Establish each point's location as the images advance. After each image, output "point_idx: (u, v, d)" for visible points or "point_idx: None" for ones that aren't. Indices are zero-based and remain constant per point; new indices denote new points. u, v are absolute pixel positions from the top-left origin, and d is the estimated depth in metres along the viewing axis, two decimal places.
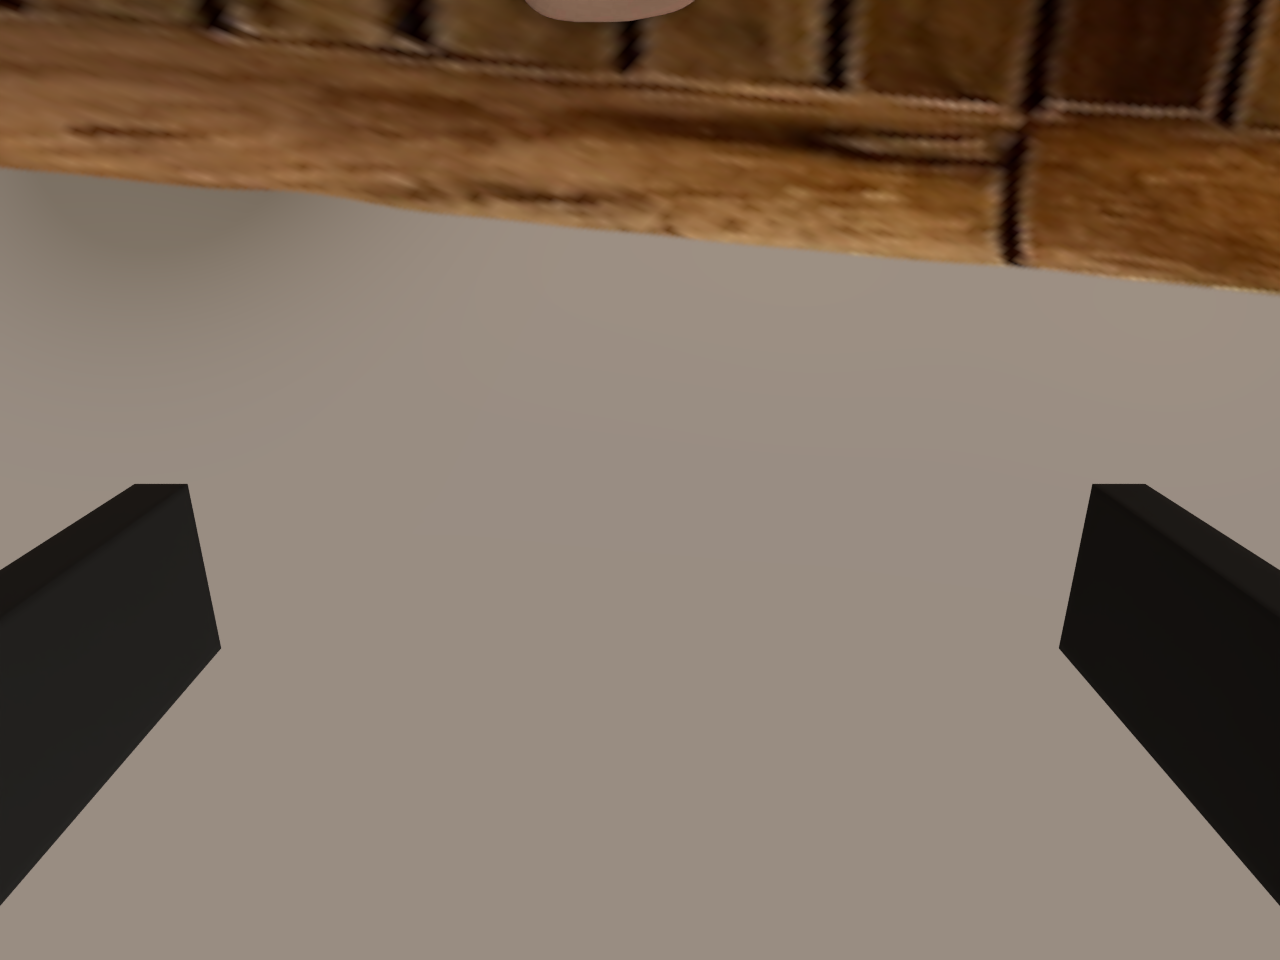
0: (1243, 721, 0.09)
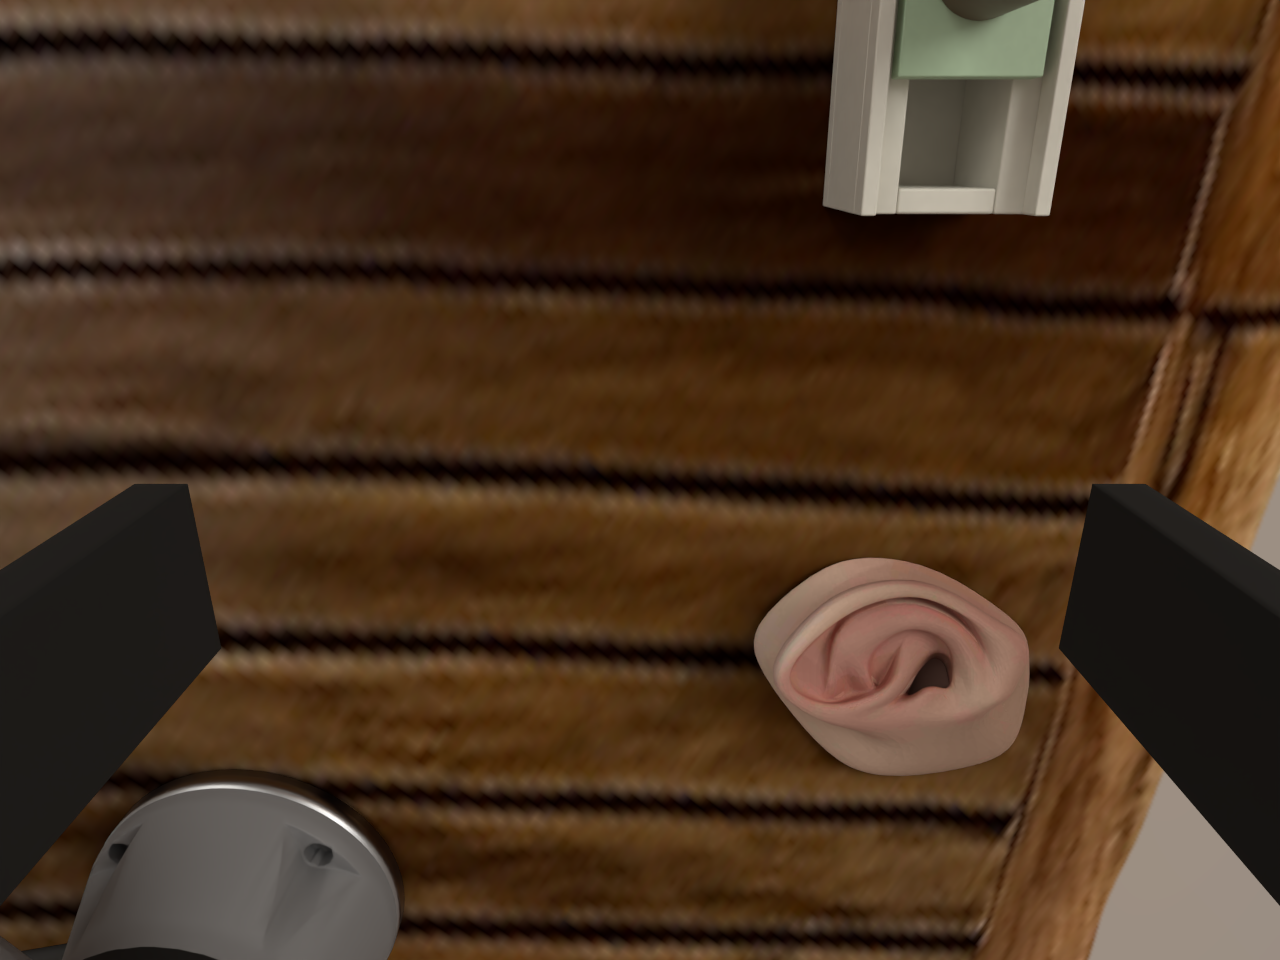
0: (1242, 721, 0.09)
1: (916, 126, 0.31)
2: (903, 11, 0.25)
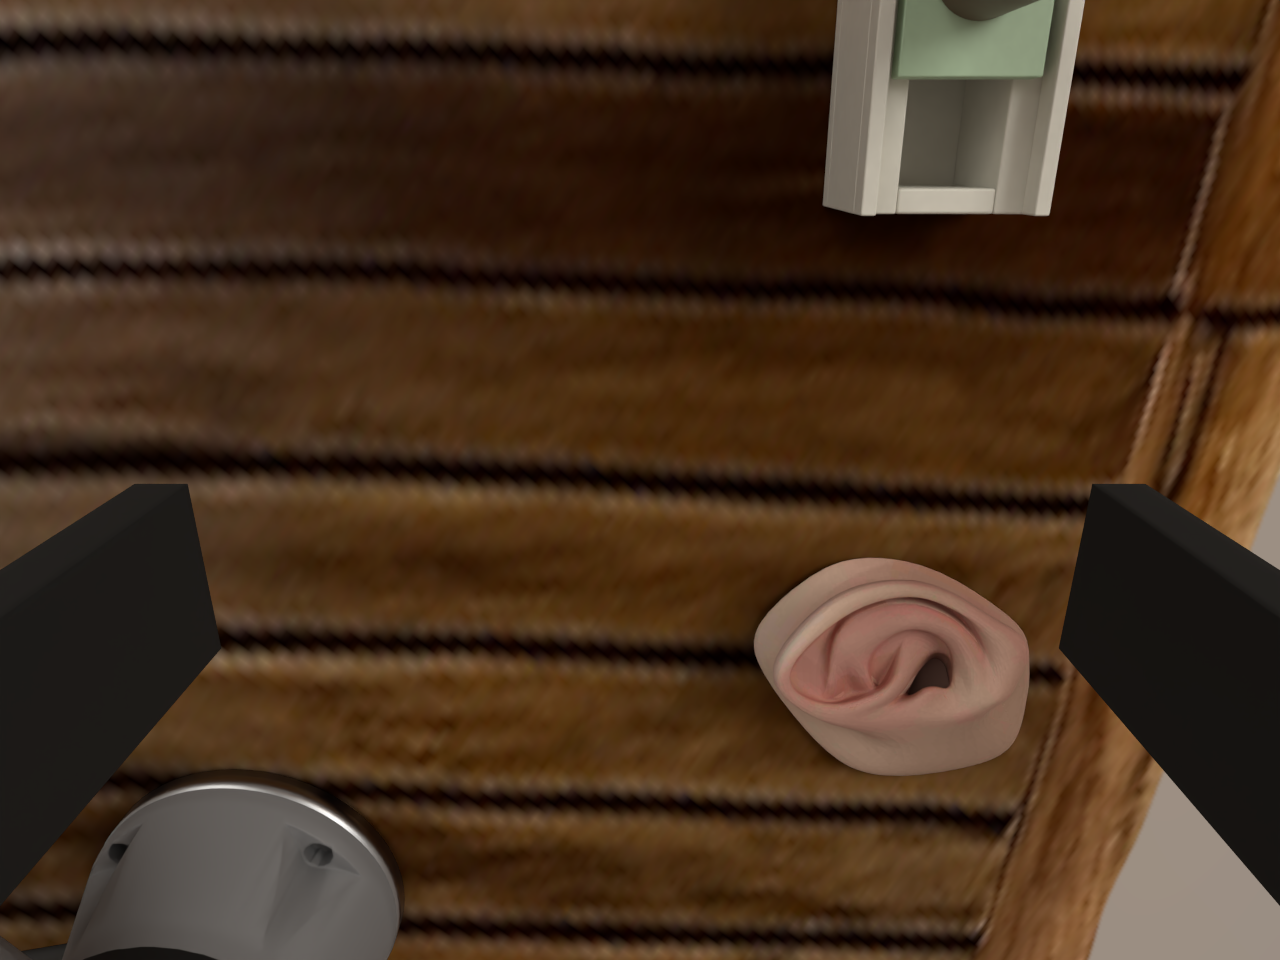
0: (1242, 721, 0.09)
1: (916, 126, 0.31)
2: (903, 11, 0.25)
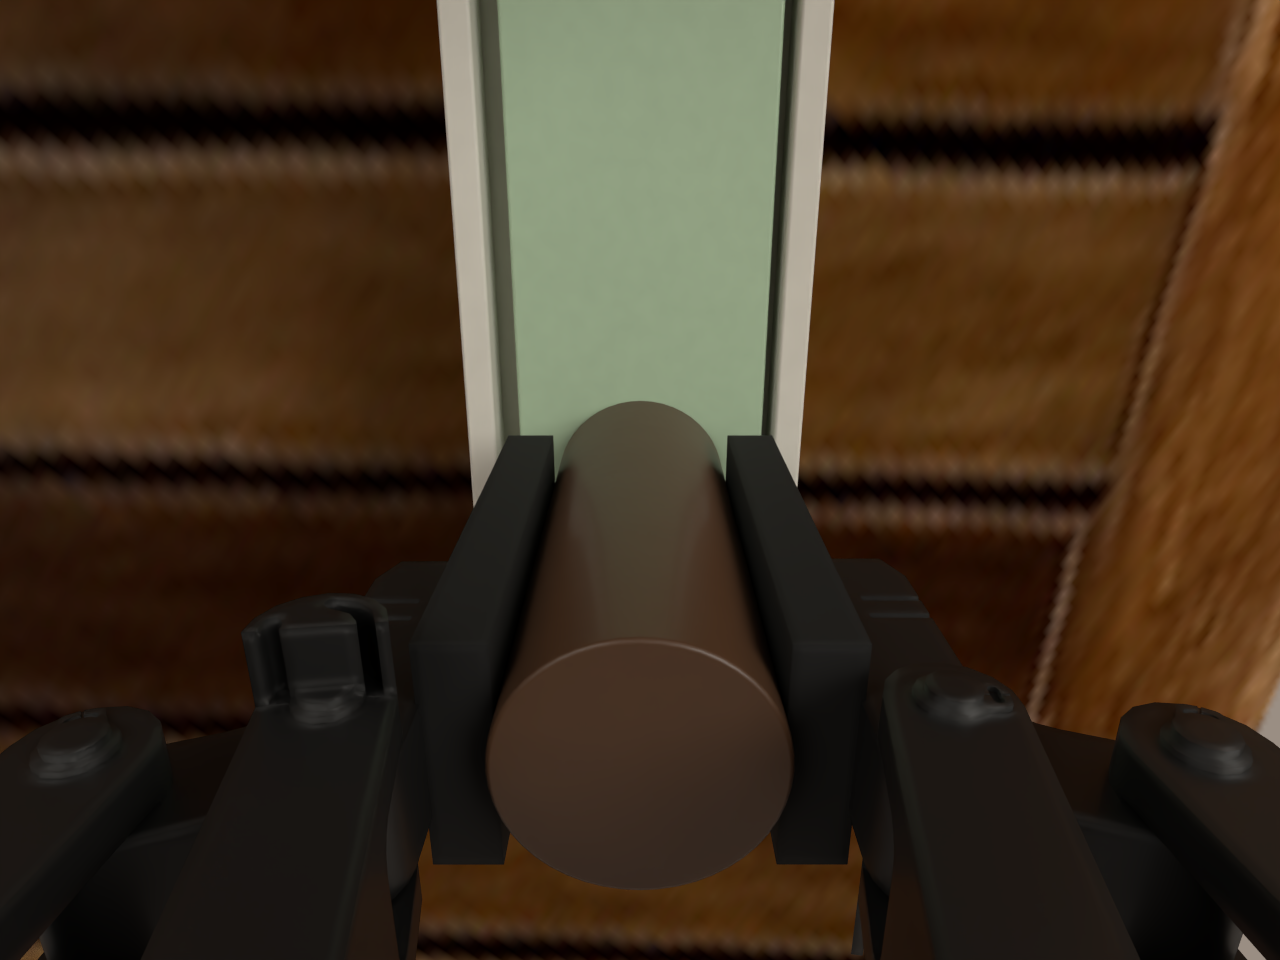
0: None
1: None
2: None
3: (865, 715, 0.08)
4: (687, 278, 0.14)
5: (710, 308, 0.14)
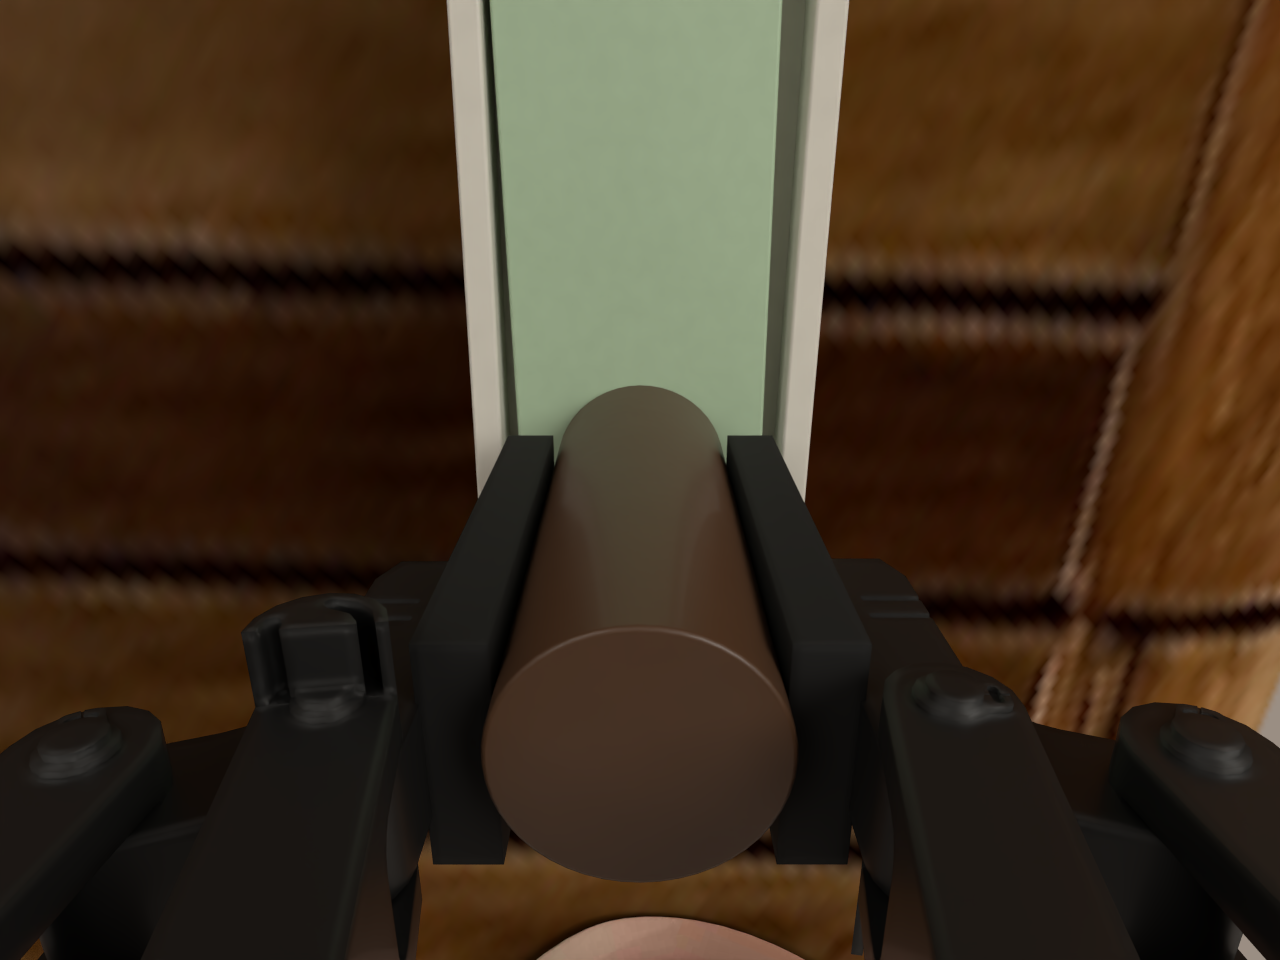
0: None
1: None
2: None
3: (864, 714, 0.08)
4: (685, 259, 0.14)
5: (709, 290, 0.14)
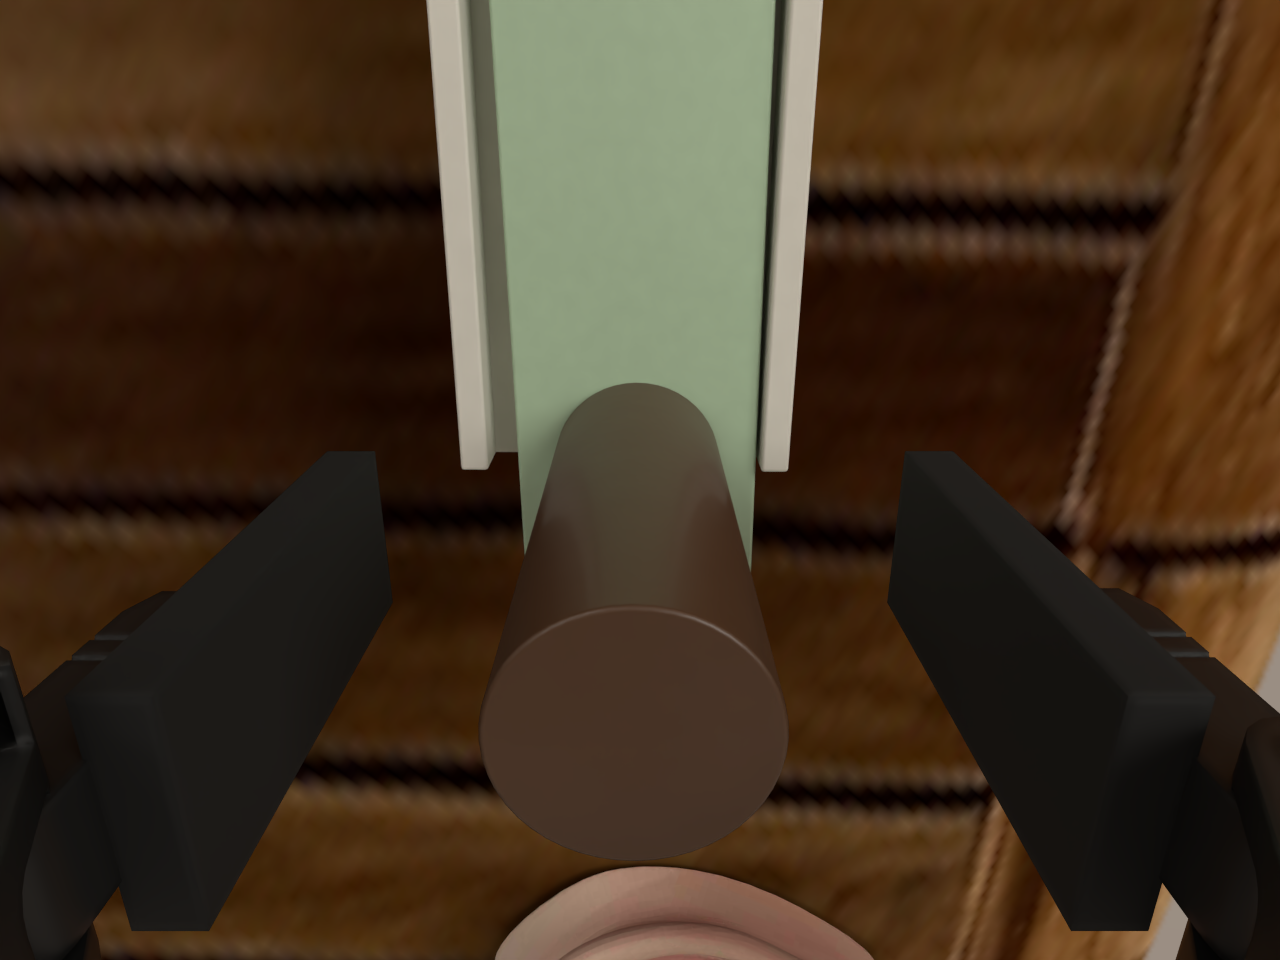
0: (981, 648, 0.10)
1: None
2: (523, 519, 0.16)
3: (1202, 773, 0.07)
4: (681, 259, 0.14)
5: (705, 288, 0.14)
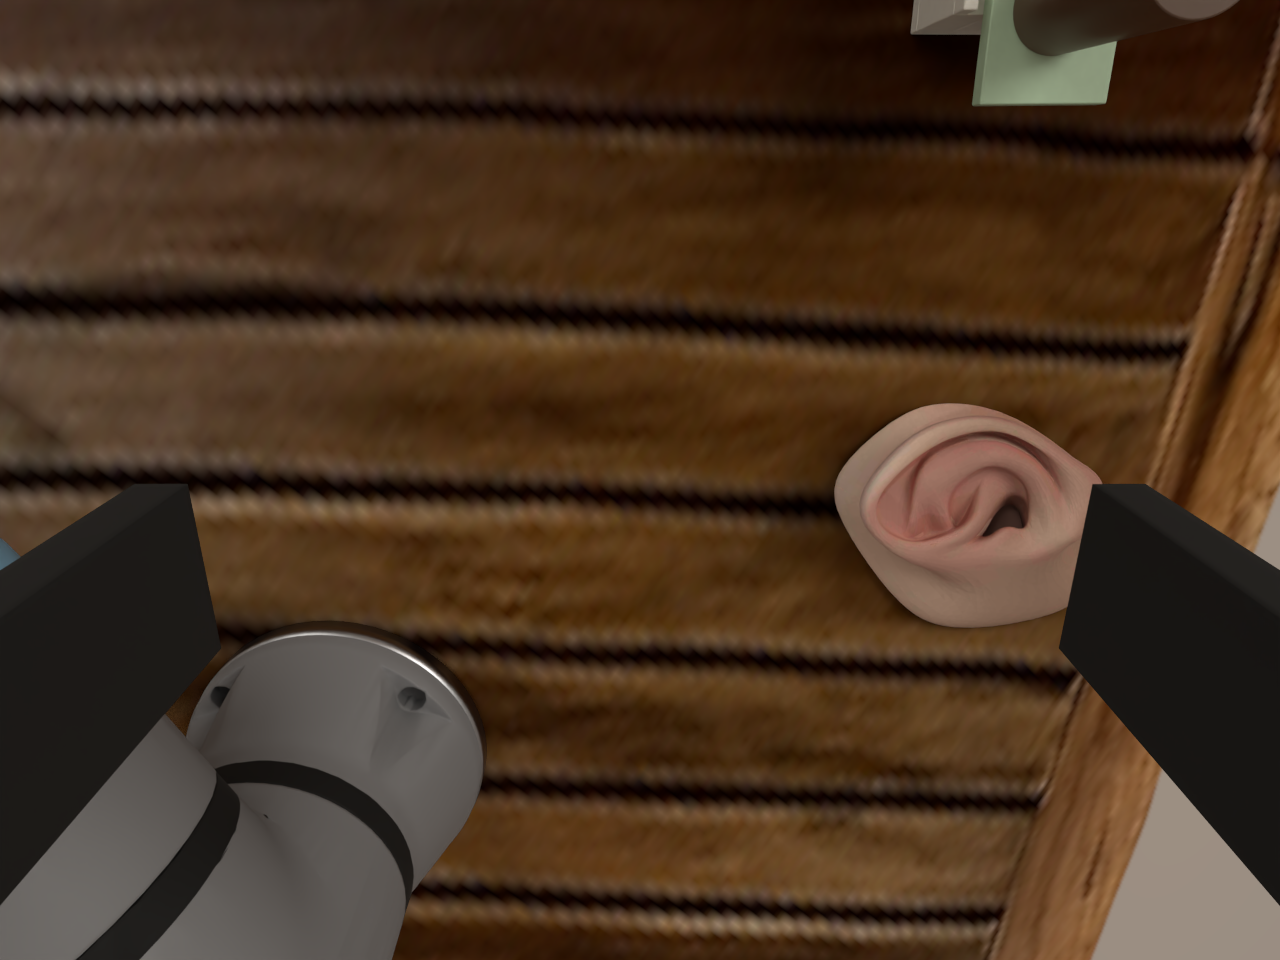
0: (1242, 720, 0.09)
1: None
2: (985, 48, 0.29)
3: None
4: None
5: None
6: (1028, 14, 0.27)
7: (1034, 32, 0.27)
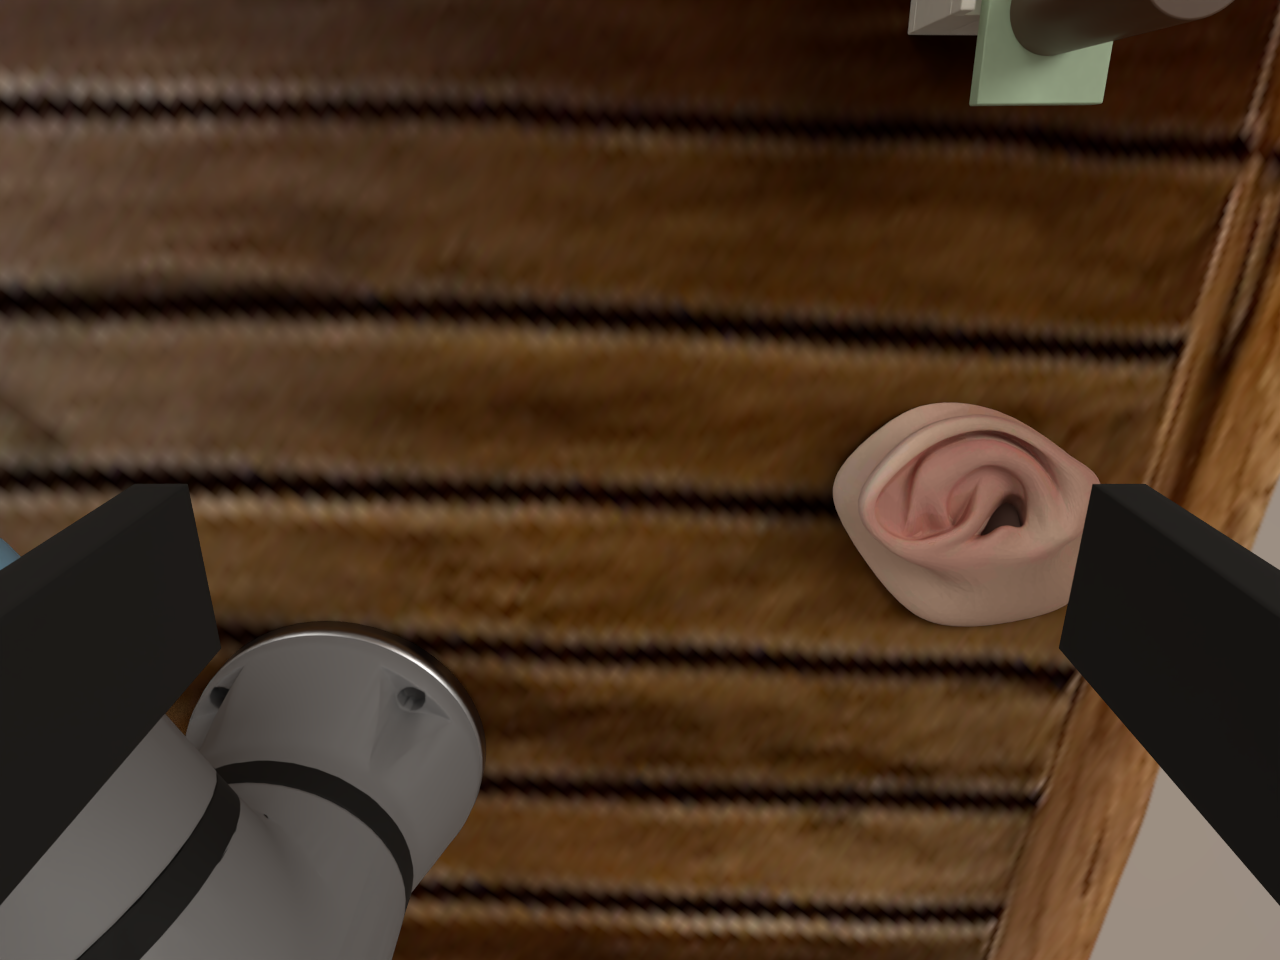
0: (1243, 722, 0.09)
1: None
2: (982, 48, 0.29)
3: None
4: None
5: None
6: (1025, 14, 0.27)
7: (1031, 32, 0.27)
